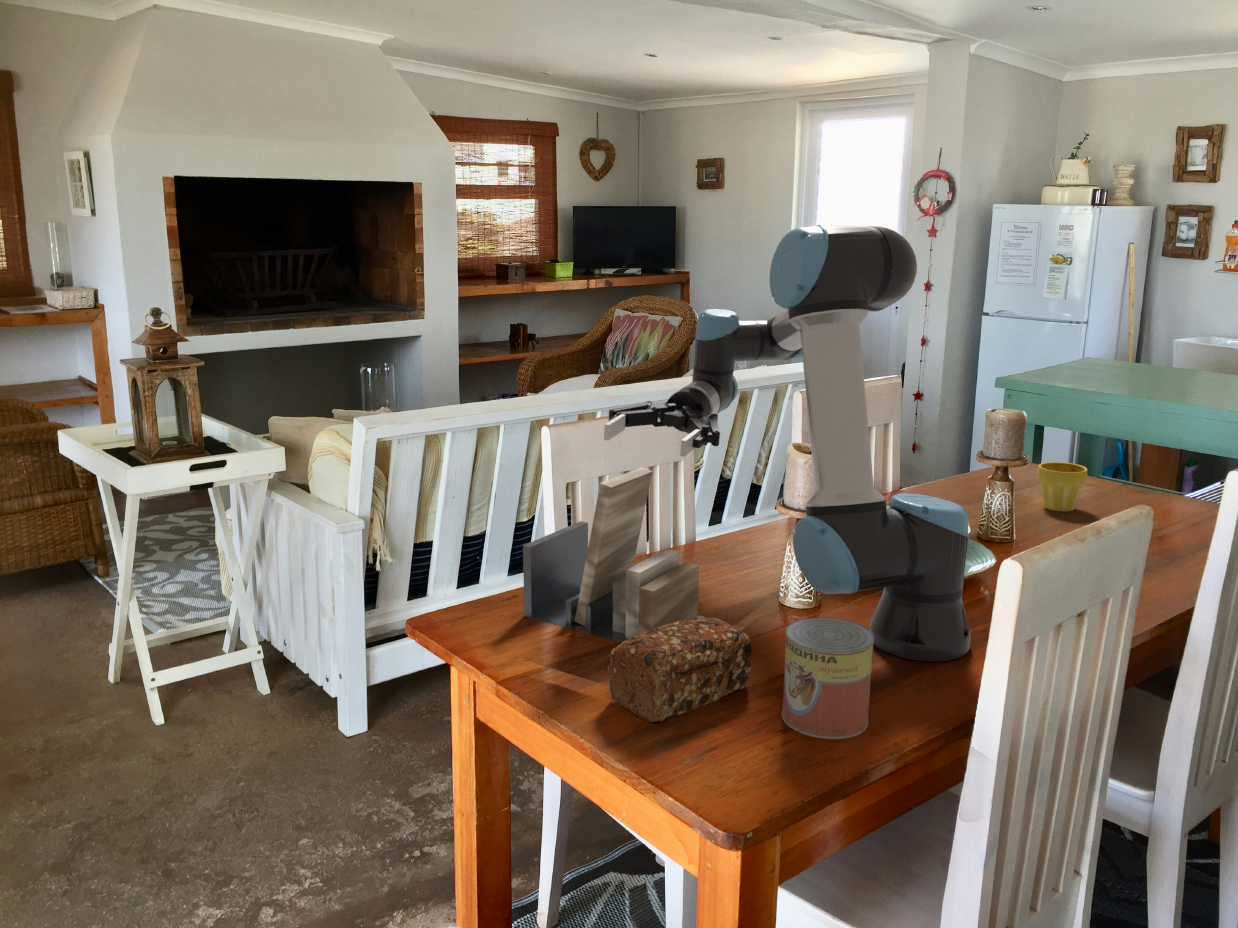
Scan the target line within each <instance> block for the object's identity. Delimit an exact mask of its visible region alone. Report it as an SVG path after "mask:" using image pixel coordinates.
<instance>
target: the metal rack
mask: <svg viewBox="0 0 1238 928" xmlns="http://www.w3.org/2000/svg"><path fill="white" fill-rule="evenodd" d="M588 546H589V523H588V522H586V521H578V522H576V523H573V524H571V525H568V526H566V527H564V528H560V529H559V530H557V531H554V532H552V533H550V534H547V535H545V536H542V537H540V538H538V539H535V540H533V541H530V542H527V543H525V544H523V545H522V550H523V551H522V561H523V562H522V564H523V565H522V568H523V570H522V571H523V615H524V617H526V618H529V619H533V620H537V621H540V622H544V623H548V624H551V625H554V626H559V627H561V628H562V627H563V628H565V629H566V628H567V629H570V630H573V631H577V632H582V633H585V634H588V635H592V636H597V637H598V638H599V637H600V638H603V639H607V640H611V641H614V642H617V643H620V644H621V643H622V642H624V641H627V640H628V639H629V638H627V637H626V634H624V633H620V632H616V631H613V591H611V592H609V593H608V594H606V595H604V596H602V597H600V598H598V599H597V600H595V601H593V602H591V603H589V604H587V605H585V626H583V625H581V624H579V623H577V622H575V616H576V610H577V605H578V600H579V594H580V589H581V584H582V578H583V573H584V568H585V562H586V557H587V552H588ZM704 617H705V616H703V615H700V614H698V618H696V619H701V618H704ZM696 619H695V620H696Z"/></svg>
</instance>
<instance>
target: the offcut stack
mask: <svg viewBox="0 0 1238 928" xmlns="http://www.w3.org/2000/svg"><path fill="white" fill-rule="evenodd" d="M680 553H681V552H680V550H679V551H678V550H674V549H669V548H665V549H663V550H661V551H658V552H657V553H655V554H654V555H652V556H649V557H647V558H645V559H644V560H642V561H640V562H638V563H636V564H633V566H632V567H630V568H628V569H626V576H624V577H622V578H621V579H619V580H617V581H615V582H613V631H616V632H620V633H624V634H626V637H627V638H631V637H634V636H639V635H640V634H641V633H643V632H648V631H650V630H653V629H657V628H658V627H662V626H664V625H666V624H671V623H673V622H676V621H690V620H695V619H696V618H698V615H699V614H698V613H699V611H698V610H699V579H700V578H699V575H700V572H699V571H700V564H695V563H691V562H687V561H685V562H683V563H681V564H680V556H681V555H680Z"/></svg>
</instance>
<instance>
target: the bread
mask: <svg viewBox="0 0 1238 928" xmlns="http://www.w3.org/2000/svg"><path fill="white" fill-rule="evenodd" d="M752 653H753V644H752V642H751V639H750V637H749V636H748V635H747V633H746V632H744V631H743V630H740V629H738V628H736V627H734V626H733V625H732V624H730V623H727V622H726V621H724V620H721V619H719V618H716V617H714V616H704V618H701V619H696V620H690V621H676V622H673V623H671V624H666V625H664V626H662V627H658V628H657V629H653V630H650V631H648V632H643V633H641V634H640V635H639V636H634V637H631V638H629V639H628V640H627V641H624V642H622V643H621V642H620V644H618V645H617V646H615V647H614V648H612V650H611V651H610V653H609V654H608V655H607V657H609V661H608V665H607V677H608V680H609V688H610V689H609V693H610V698H613V700H614V701H615V703H617V704H618V705H619V706H621V707H622V708H624V709H626V710H627V711H629V712H631V713H632V714H633V715H635V716H637V717H639V718H641V719H642V720H644V721H645V722H648V723H657V722H661V723H662V722H663V721H665V719H666V718H669V717H673V716H679V715H683V714H685V713H687V712H688V713H689V712H690V711H693V710H695V709H698V708H700V707H701V708H702V707H704V706H707V705H709V704H712V703H715V702H717V701H719V700H720V699H722V698H724V697H727V696H728V695H729V694H733V692H735V691H737V690H743V689H744V688H746V687H747V685H748V684H749V681H750V674H751V671H752V670H753V669H752V668H753V665H752V661H753V655H752Z"/></svg>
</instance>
